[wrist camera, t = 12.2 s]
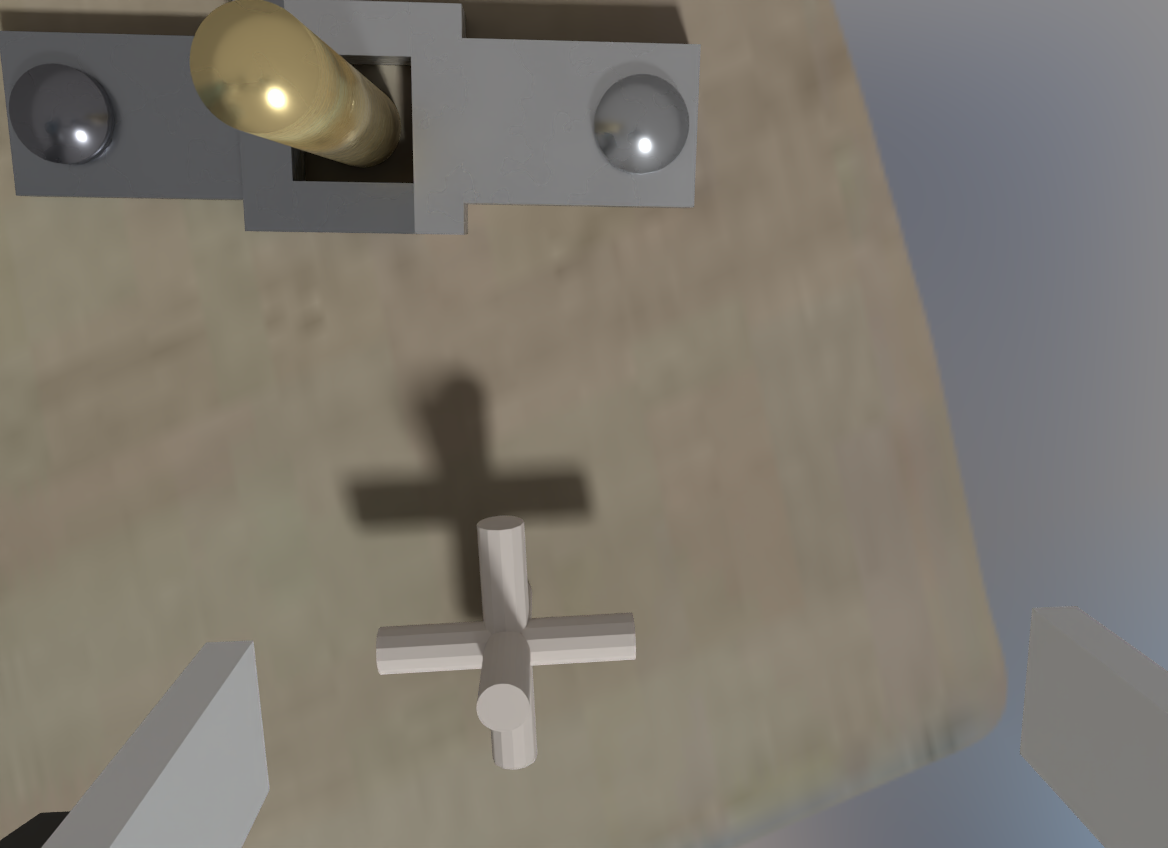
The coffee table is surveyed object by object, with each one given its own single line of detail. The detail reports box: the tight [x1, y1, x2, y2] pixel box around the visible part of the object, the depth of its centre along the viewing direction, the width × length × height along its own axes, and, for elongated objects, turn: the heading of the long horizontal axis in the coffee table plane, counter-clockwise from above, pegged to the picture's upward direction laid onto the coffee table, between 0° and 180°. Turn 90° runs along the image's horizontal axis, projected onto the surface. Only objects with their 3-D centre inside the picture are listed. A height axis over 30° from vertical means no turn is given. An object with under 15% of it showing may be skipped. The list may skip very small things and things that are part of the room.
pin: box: [190, 0, 401, 168], centre depth 30 cm, size 3×3×14 cm
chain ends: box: [0, 0, 701, 234], centre depth 35 cm, size 26×8×3 cm, turn 89°
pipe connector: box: [376, 515, 636, 770], centre depth 36 cm, size 10×10×10 cm
